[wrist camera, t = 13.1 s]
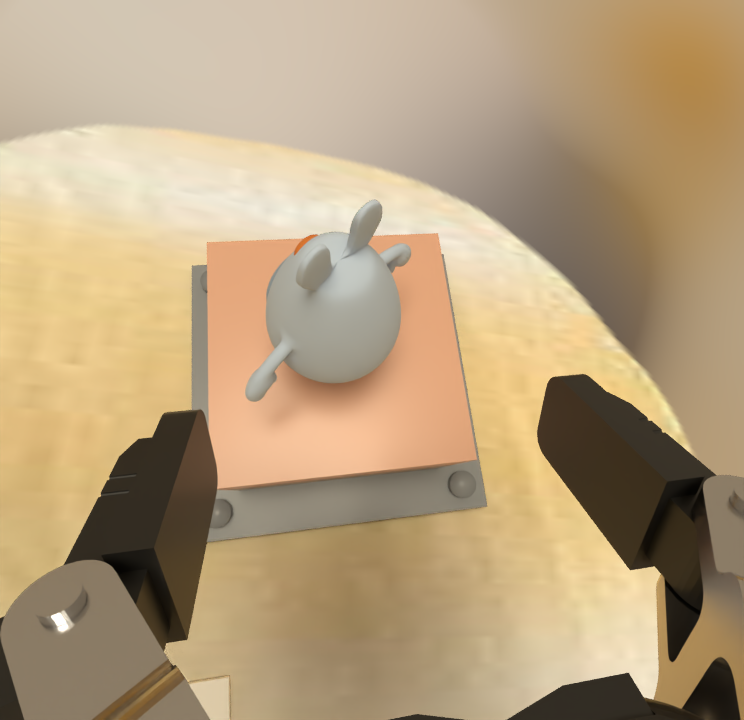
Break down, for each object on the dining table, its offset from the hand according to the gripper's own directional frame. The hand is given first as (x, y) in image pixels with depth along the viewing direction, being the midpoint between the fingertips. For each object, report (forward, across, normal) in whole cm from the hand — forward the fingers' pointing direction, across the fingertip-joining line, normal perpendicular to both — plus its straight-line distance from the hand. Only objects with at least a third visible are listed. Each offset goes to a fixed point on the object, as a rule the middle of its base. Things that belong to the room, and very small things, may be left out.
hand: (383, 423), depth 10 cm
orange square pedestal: (+20, 0, +11) cm, 23 cm away
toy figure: (+14, 0, +5) cm, 15 cm away
